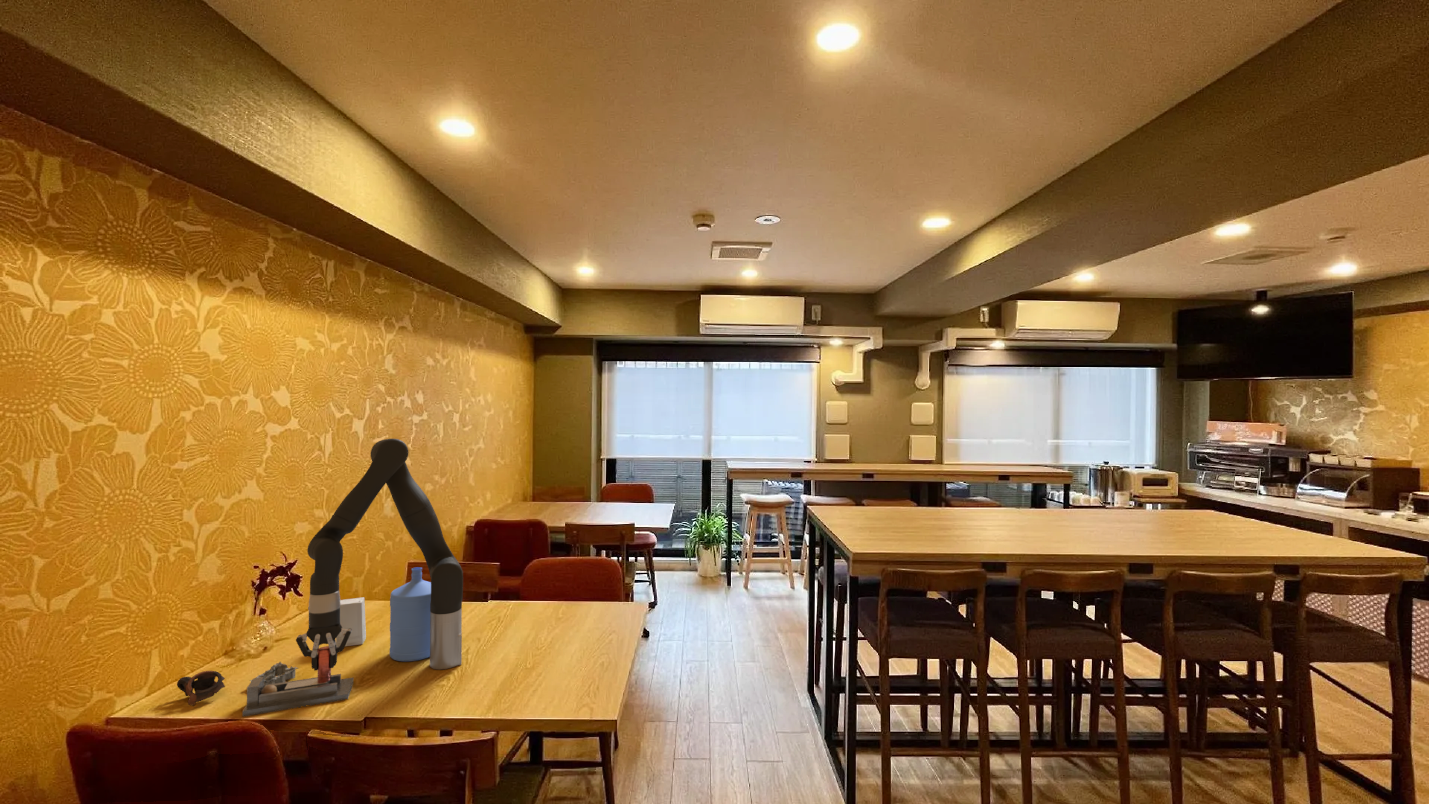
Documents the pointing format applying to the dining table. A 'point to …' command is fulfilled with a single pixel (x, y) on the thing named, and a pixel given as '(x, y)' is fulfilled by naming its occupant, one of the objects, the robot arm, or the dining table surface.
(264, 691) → the walnut
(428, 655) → the water jug
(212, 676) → the dark brown hollow piece
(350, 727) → the dining table surface
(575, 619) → the dining table surface
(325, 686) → the grey ball track
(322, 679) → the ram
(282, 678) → the grey jagged model
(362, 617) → the skincare box
